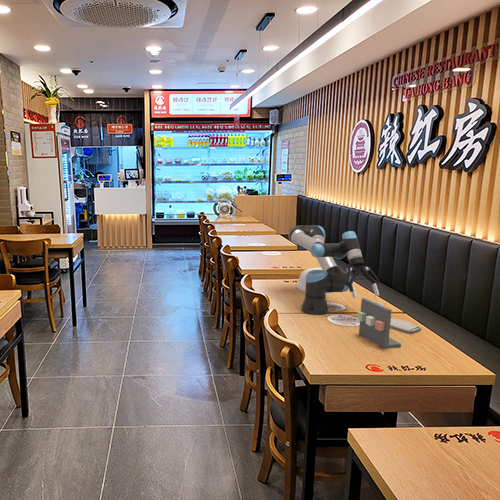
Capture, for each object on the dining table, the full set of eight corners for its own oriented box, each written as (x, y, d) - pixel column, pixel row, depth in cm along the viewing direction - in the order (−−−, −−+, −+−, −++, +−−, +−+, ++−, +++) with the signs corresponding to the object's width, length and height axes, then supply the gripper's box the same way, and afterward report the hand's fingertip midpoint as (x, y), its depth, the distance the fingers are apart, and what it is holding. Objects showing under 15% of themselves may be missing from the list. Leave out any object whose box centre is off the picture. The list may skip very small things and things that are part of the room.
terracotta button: (374, 328, 200) (375, 320, 199) (381, 327, 201) (381, 320, 200) (379, 330, 196) (380, 323, 196) (386, 330, 198) (386, 322, 197)
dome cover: (290, 283, 320) (291, 264, 318) (329, 283, 326) (331, 264, 323) (304, 294, 289) (305, 273, 287) (346, 294, 295) (348, 273, 292)
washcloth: (410, 335, 217) (411, 329, 217) (378, 326, 230) (379, 320, 230) (422, 331, 225) (422, 325, 225) (390, 322, 238) (391, 316, 238)
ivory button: (365, 323, 206) (366, 316, 206) (371, 322, 207) (372, 315, 207) (370, 325, 203) (370, 318, 202) (376, 325, 204) (377, 317, 203)
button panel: (358, 333, 216) (361, 298, 213) (374, 332, 219) (377, 297, 216) (384, 348, 197) (387, 310, 195) (400, 346, 200) (404, 308, 198)
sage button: (357, 319, 213) (357, 311, 212) (363, 318, 214) (363, 311, 213) (361, 321, 209) (362, 314, 209) (367, 320, 211) (368, 313, 210)
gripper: (338, 257, 228) (348, 296, 220) (379, 255, 236) (390, 292, 228) (332, 262, 234) (341, 300, 227) (371, 260, 243) (382, 297, 235)
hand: (366, 296), depth 227 cm, fingers open, 13 cm apart
